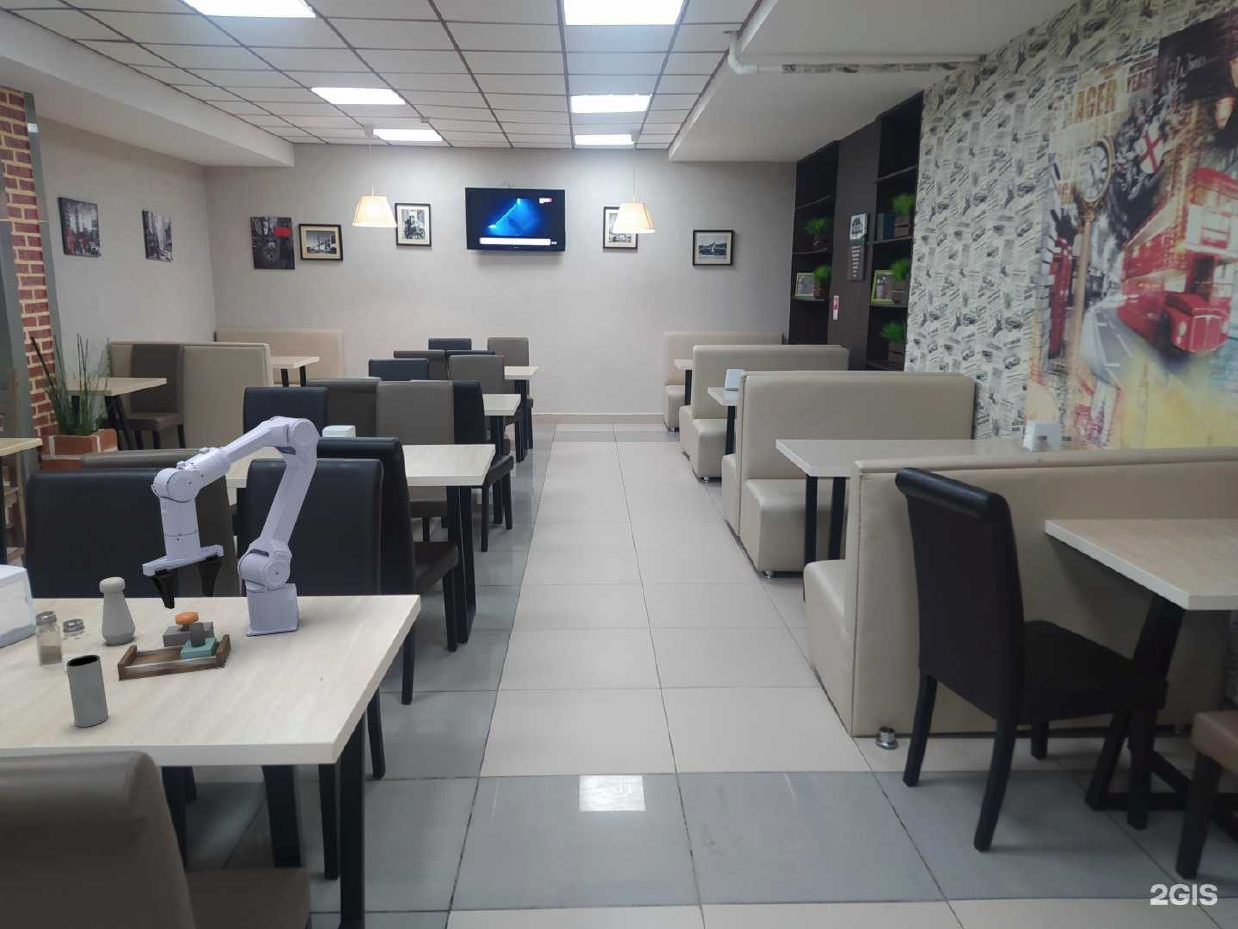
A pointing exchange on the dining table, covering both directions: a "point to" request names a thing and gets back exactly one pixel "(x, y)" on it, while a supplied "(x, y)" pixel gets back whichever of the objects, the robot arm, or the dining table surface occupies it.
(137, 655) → the rail board
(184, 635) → the grey rectangular block
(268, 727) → the dining table surface
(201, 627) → the blue block with peg
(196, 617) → the button
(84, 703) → the planter
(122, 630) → the salt shaker
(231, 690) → the dining table surface
